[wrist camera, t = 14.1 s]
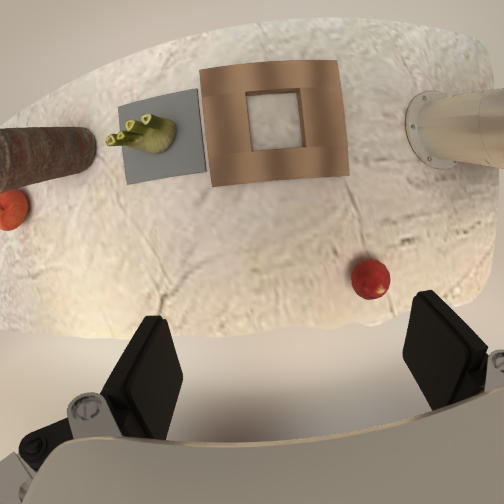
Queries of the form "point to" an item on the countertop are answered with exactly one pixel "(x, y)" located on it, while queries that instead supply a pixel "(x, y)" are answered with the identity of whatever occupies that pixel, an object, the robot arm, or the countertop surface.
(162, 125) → the fennel bulb
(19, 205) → the apple
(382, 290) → the red ovoid
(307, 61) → the pocket holder
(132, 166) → the mat
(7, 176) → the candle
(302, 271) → the countertop surface
